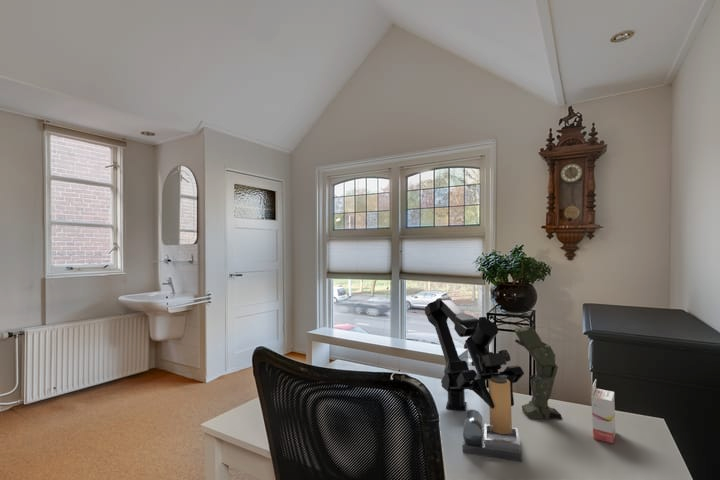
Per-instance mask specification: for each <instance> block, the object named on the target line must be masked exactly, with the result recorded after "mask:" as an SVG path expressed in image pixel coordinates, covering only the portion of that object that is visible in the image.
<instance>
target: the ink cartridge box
mask: <svg viewBox="0 0 720 480" xmlns="http://www.w3.org/2000/svg"><path fill="white" fill-rule="evenodd" d="M615 406H616V405H615V391H612V390H605V389H601V388H597V379H596V378H595V379H594V381H593V383H592V385H591V415H592V419H591V420H592V434H593V437H592V438H593V439H594V440H598V441H601V442H606V443H609V444H614V442H615V441H614V440H615V437H616V432H617V429H616V412H615V411H616V409H615V408H616V407H615Z"/></svg>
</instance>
